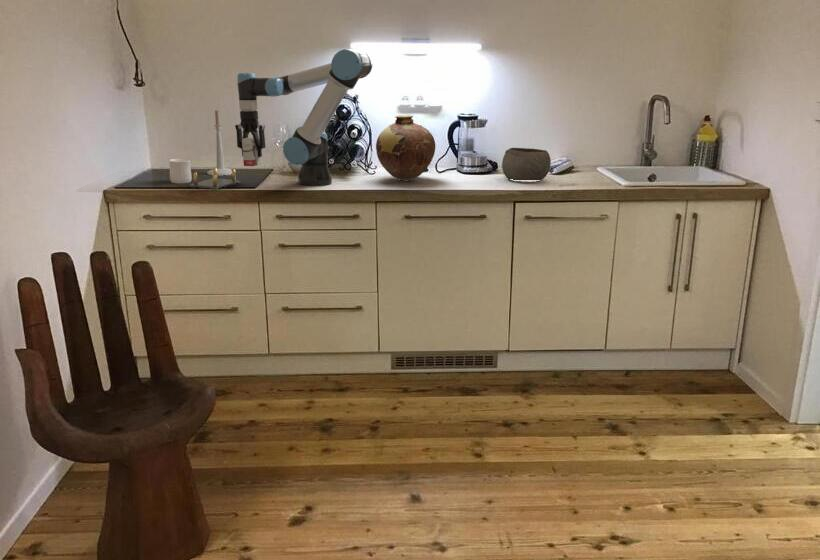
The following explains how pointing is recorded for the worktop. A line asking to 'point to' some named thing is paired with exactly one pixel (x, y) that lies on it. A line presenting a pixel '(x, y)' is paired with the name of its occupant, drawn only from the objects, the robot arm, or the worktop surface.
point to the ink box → (249, 151)
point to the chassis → (214, 181)
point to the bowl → (526, 164)
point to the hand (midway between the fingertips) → (252, 164)
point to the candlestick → (219, 151)
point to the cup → (180, 170)
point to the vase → (405, 148)
